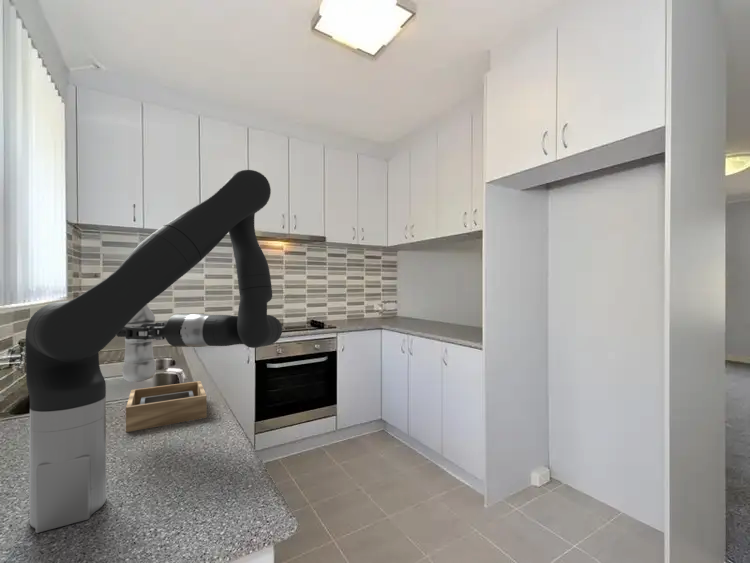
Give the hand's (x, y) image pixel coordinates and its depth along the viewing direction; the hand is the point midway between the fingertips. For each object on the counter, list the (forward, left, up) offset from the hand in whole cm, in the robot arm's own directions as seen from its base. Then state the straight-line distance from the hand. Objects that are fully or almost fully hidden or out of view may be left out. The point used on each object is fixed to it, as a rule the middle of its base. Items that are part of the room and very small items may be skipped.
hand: (130, 329), depth 85 cm
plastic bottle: (-2, -2, -12) cm, 12 cm away
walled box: (+13, -8, -25) cm, 30 cm away
